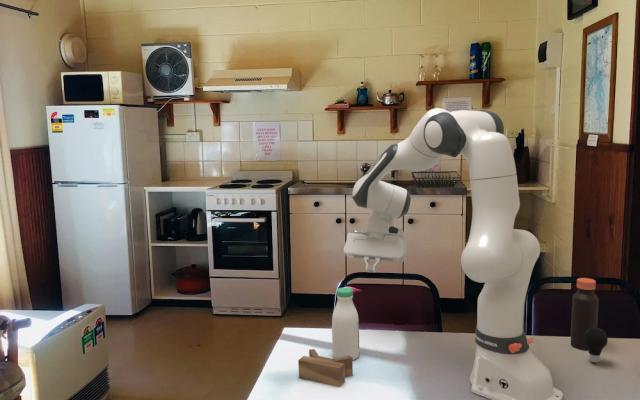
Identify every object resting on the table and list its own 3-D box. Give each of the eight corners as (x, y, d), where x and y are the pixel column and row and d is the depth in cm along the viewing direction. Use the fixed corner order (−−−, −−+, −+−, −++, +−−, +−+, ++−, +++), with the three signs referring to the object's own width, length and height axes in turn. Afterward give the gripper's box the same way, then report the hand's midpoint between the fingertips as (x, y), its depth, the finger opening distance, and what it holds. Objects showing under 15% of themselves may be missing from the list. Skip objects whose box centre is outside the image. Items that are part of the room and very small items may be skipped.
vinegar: (568, 347, 159) (571, 281, 156) (572, 339, 164) (574, 275, 161) (594, 352, 155) (598, 285, 152) (597, 344, 161) (600, 278, 158)
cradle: (311, 365, 151) (310, 348, 151) (354, 373, 146) (353, 356, 145) (297, 377, 144) (296, 359, 144) (341, 387, 139) (341, 368, 138)
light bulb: (609, 362, 149) (611, 327, 147) (602, 369, 145) (604, 333, 143) (586, 356, 153) (588, 322, 151) (579, 363, 149) (581, 328, 147)
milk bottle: (357, 362, 152) (356, 294, 149) (330, 361, 154) (328, 293, 151) (360, 351, 160) (360, 285, 157) (335, 349, 161) (333, 284, 158)
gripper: (346, 225, 179) (336, 264, 173) (406, 230, 170) (399, 270, 164) (351, 234, 184) (342, 272, 178) (410, 238, 175) (403, 278, 169)
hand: (370, 271), depth 171 cm, fingers closed
